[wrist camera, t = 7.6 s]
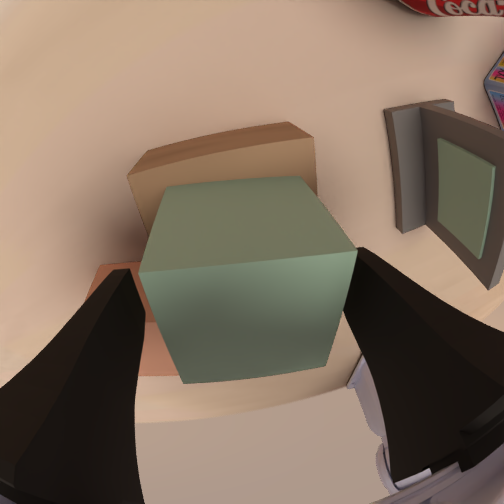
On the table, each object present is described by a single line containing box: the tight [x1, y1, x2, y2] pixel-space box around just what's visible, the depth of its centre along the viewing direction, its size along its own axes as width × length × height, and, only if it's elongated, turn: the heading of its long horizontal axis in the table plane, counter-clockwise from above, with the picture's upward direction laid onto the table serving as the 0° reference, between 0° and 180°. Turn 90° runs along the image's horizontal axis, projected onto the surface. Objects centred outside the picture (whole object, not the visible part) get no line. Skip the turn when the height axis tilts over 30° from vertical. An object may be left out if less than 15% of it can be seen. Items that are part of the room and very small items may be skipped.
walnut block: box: [127, 122, 317, 236], centre depth 13 cm, size 7×7×4 cm
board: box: [384, 99, 504, 290], centre depth 11 cm, size 5×8×8 cm, turn 20°
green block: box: [138, 176, 358, 384], centre depth 9 cm, size 5×5×5 cm
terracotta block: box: [85, 261, 179, 376], centre depth 15 cm, size 5×5×5 cm
